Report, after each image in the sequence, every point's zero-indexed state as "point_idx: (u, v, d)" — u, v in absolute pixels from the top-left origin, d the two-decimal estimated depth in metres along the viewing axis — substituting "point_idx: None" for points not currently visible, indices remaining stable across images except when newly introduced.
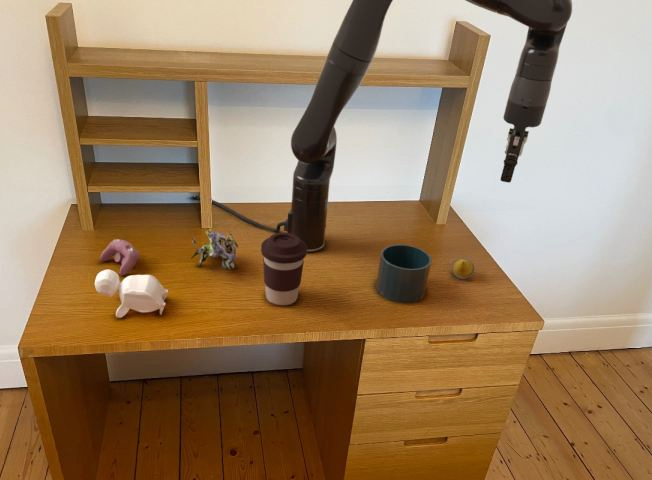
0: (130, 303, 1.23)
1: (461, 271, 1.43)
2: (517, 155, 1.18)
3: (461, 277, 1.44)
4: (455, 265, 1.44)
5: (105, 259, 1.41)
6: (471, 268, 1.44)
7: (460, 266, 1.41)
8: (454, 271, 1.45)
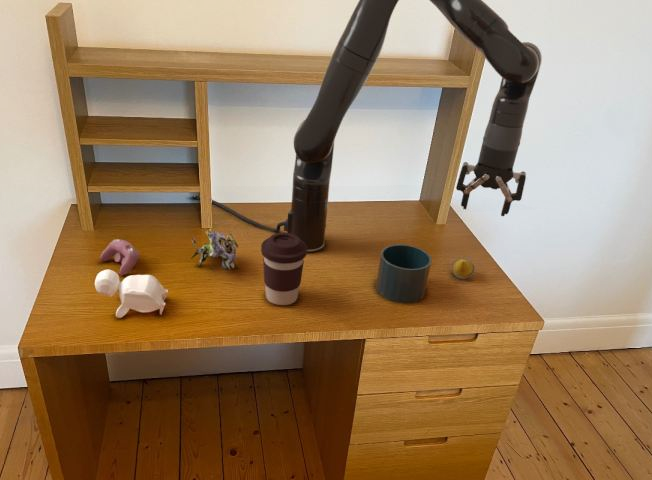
0: (130, 303, 1.23)
1: (461, 271, 1.43)
2: (458, 179, 1.32)
3: (461, 277, 1.44)
4: (455, 265, 1.44)
5: (105, 259, 1.41)
6: (471, 268, 1.44)
7: (460, 266, 1.41)
8: (454, 271, 1.45)
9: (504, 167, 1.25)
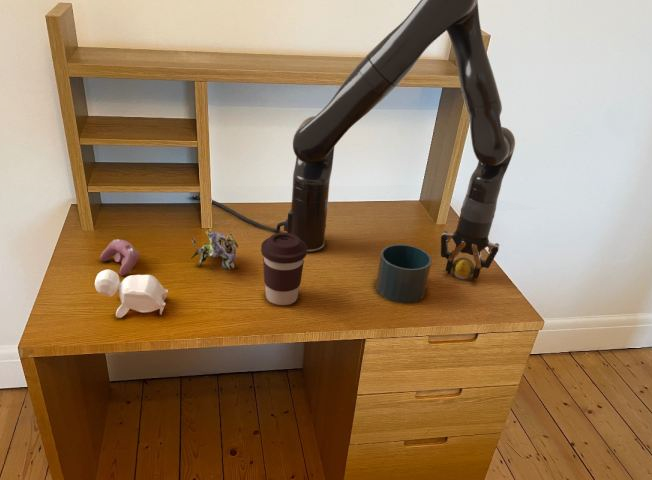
0: (130, 303, 1.22)
1: (461, 271, 1.43)
2: None
3: (461, 277, 1.44)
4: (455, 265, 1.44)
5: (105, 259, 1.41)
6: (471, 268, 1.44)
7: (460, 266, 1.41)
8: (454, 271, 1.45)
9: (479, 237, 1.35)
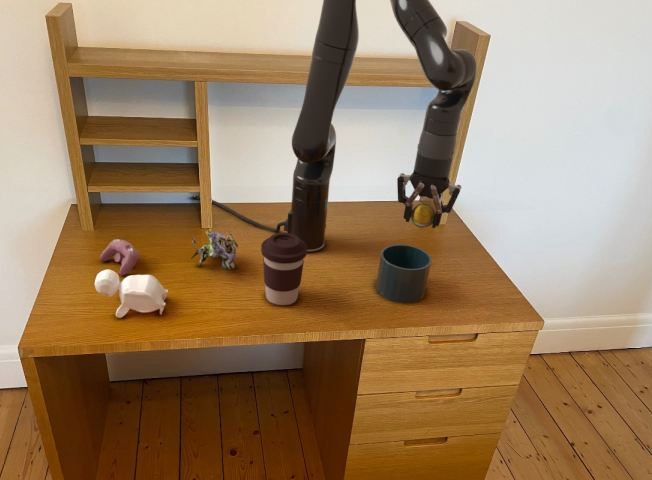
0: (130, 303, 1.22)
1: (420, 217, 1.29)
2: None
3: (421, 225, 1.30)
4: (414, 211, 1.30)
5: (105, 259, 1.41)
6: (431, 214, 1.30)
7: (419, 211, 1.27)
8: (413, 218, 1.31)
9: (437, 176, 1.21)
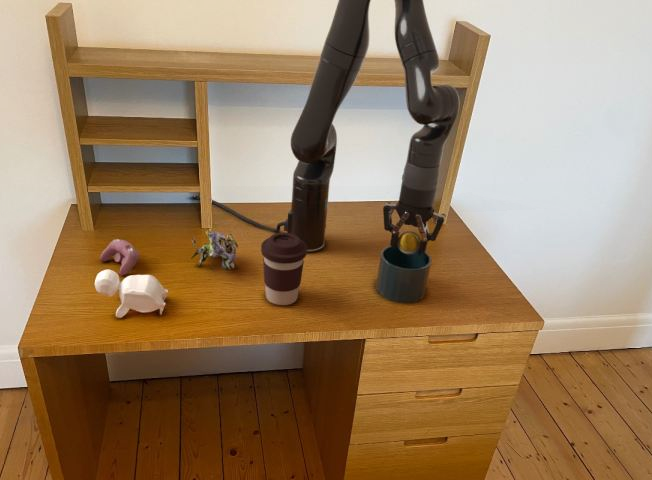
0: (130, 303, 1.22)
1: (406, 245, 1.31)
2: None
3: (407, 252, 1.33)
4: (400, 239, 1.33)
5: (105, 259, 1.41)
6: (417, 242, 1.32)
7: (404, 239, 1.30)
8: (399, 246, 1.34)
9: (421, 206, 1.24)
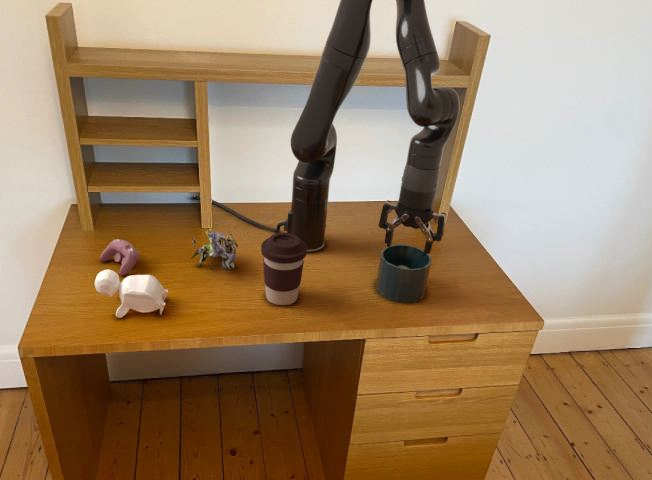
0: (130, 303, 1.23)
1: None
2: None
3: None
4: None
5: (105, 259, 1.41)
6: None
7: None
8: None
9: (421, 208, 1.24)
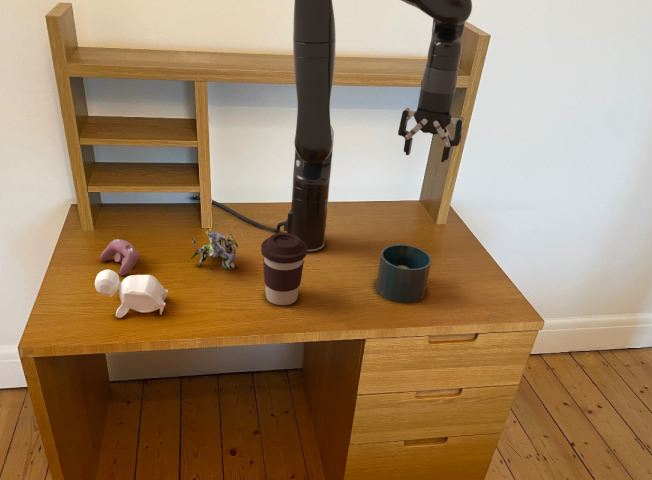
0: (130, 303, 1.23)
1: None
2: None
3: None
4: None
5: (105, 259, 1.41)
6: None
7: None
8: None
9: (439, 111, 1.29)
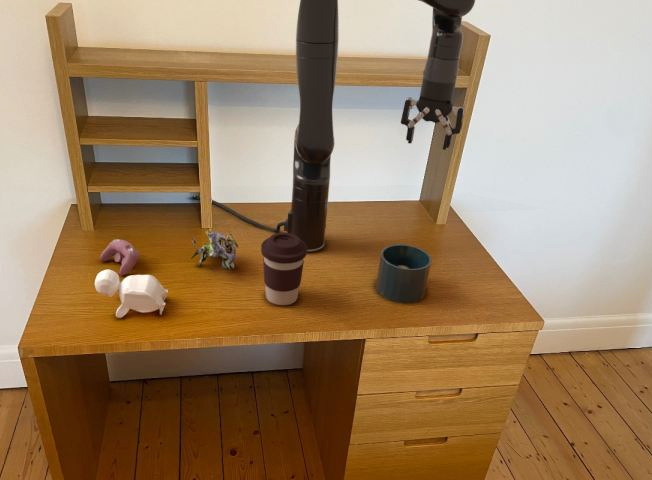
0: (130, 303, 1.23)
1: None
2: None
3: None
4: None
5: (105, 259, 1.41)
6: None
7: None
8: None
9: (441, 99, 1.33)
